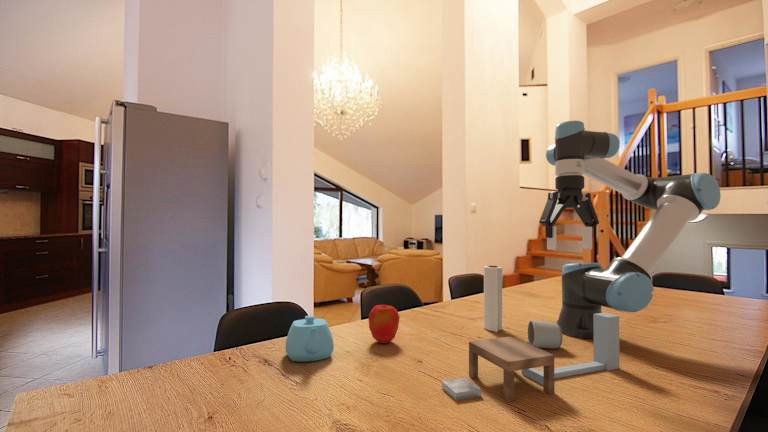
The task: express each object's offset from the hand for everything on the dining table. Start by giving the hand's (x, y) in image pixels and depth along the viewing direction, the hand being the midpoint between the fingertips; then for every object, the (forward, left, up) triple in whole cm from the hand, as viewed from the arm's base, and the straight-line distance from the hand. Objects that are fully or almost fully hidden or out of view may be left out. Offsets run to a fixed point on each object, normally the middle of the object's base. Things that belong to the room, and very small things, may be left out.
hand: (569, 249), depth 109 cm
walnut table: (+32, +13, -29) cm, 45 cm away
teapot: (+71, -19, -29) cm, 79 cm away
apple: (+48, -24, -29) cm, 61 cm away
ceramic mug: (+5, -5, -29) cm, 30 cm away
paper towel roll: (+8, -25, -29) cm, 39 cm away
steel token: (+45, +13, -29) cm, 55 cm away
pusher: (+13, +13, -29) cm, 34 cm away
